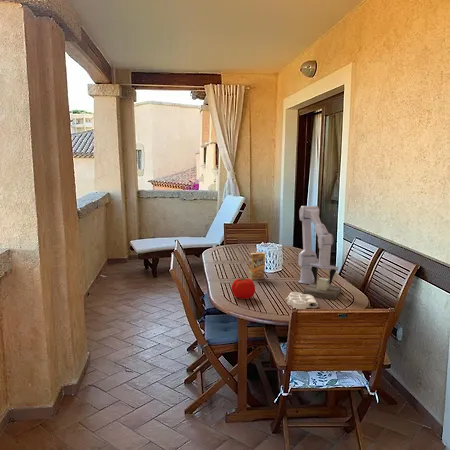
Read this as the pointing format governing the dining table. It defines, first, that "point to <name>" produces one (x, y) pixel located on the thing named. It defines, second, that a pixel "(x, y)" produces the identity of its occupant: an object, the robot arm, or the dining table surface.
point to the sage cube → (322, 284)
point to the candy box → (256, 265)
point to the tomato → (243, 288)
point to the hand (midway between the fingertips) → (322, 282)
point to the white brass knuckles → (301, 300)
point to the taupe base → (322, 291)
